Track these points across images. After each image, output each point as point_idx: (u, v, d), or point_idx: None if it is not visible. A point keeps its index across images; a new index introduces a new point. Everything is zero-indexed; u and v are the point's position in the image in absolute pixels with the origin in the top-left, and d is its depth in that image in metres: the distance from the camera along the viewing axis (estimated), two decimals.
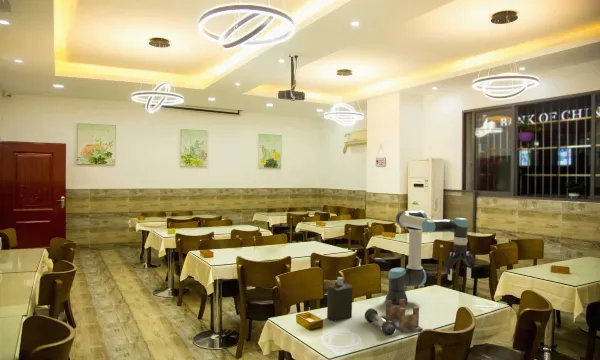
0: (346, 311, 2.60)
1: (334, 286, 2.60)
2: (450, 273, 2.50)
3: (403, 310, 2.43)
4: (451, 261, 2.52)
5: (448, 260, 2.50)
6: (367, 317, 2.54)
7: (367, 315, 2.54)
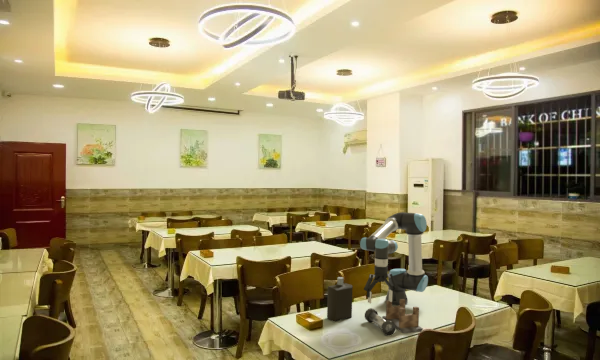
0: (346, 311, 2.60)
1: (334, 286, 2.60)
2: (369, 296, 2.42)
3: (403, 310, 2.43)
4: (371, 283, 2.44)
5: (367, 282, 2.43)
6: (367, 317, 2.54)
7: (367, 315, 2.54)
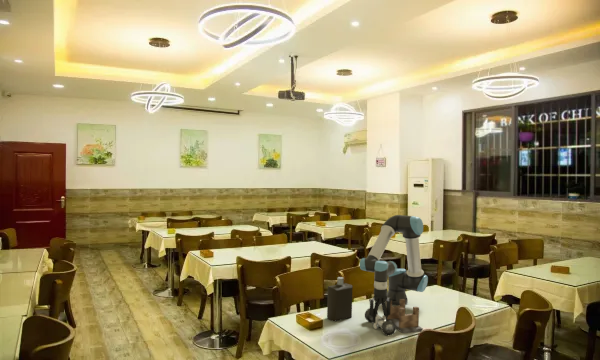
0: (346, 311, 2.60)
1: (334, 286, 2.60)
2: (375, 321, 2.44)
3: (403, 310, 2.43)
4: (374, 308, 2.45)
5: (370, 308, 2.44)
6: (367, 317, 2.54)
7: (367, 315, 2.54)
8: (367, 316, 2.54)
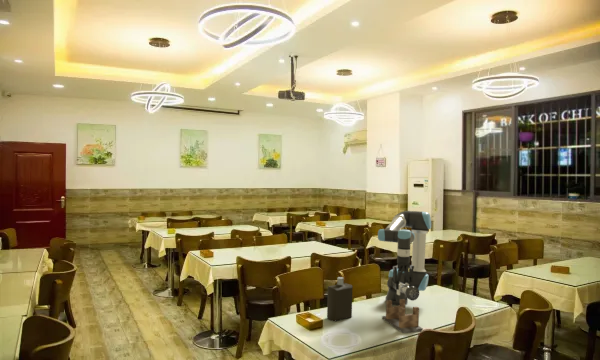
0: (346, 311, 2.60)
1: (334, 286, 2.60)
2: (398, 288, 2.50)
3: (403, 310, 2.43)
4: (397, 275, 2.52)
5: (394, 275, 2.50)
6: (390, 285, 2.60)
7: (390, 283, 2.60)
8: (390, 284, 2.60)
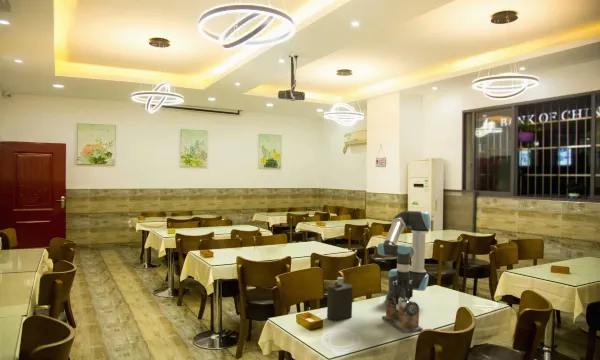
0: (346, 311, 2.60)
1: (334, 286, 2.60)
2: (398, 303, 2.50)
3: (403, 310, 2.43)
4: (397, 290, 2.52)
5: (393, 290, 2.50)
6: (389, 299, 2.61)
7: (389, 297, 2.61)
8: (389, 298, 2.61)
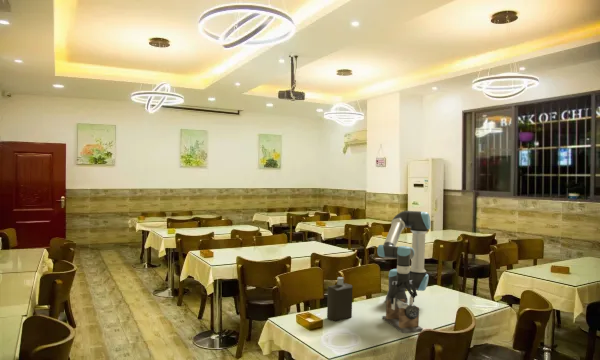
0: (346, 311, 2.60)
1: (334, 286, 2.60)
2: (393, 303, 2.50)
3: (403, 310, 2.43)
4: (394, 290, 2.51)
5: (391, 289, 2.50)
6: None
7: None
8: None
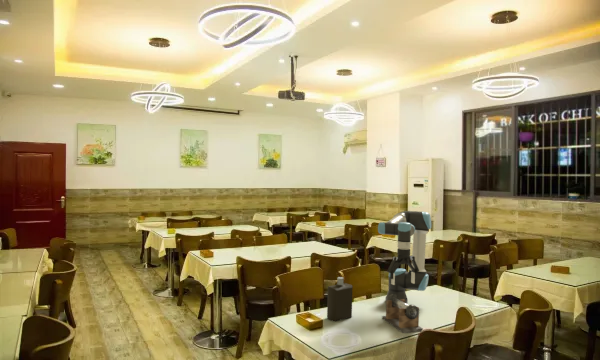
0: (346, 311, 2.60)
1: (334, 286, 2.60)
2: (393, 278, 2.49)
3: (403, 310, 2.43)
4: None
5: (391, 264, 2.49)
6: None
7: None
8: None
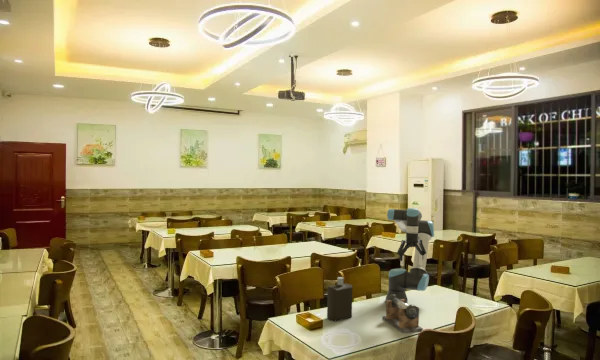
0: (346, 311, 2.60)
1: (334, 286, 2.60)
2: (402, 259, 2.68)
3: (403, 310, 2.43)
4: (403, 248, 2.70)
5: (400, 247, 2.68)
6: None
7: None
8: None
